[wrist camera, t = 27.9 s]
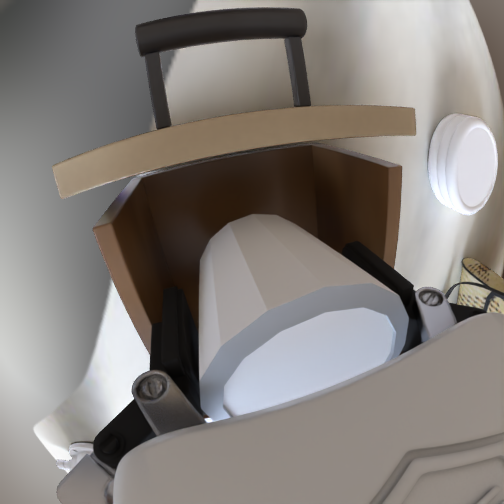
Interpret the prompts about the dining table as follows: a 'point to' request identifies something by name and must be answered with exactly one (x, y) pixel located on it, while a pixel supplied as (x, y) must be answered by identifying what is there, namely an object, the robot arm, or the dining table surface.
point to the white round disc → (463, 162)
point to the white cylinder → (286, 317)
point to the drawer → (234, 169)
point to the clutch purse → (480, 287)
